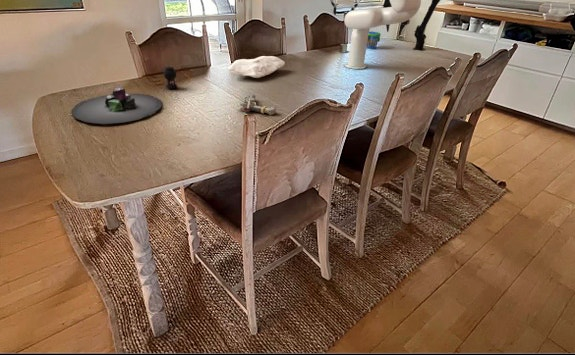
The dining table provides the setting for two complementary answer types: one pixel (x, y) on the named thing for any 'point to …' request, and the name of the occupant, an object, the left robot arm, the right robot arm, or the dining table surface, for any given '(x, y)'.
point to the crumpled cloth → (256, 66)
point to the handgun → (255, 106)
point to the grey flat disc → (116, 108)
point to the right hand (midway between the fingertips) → (393, 33)
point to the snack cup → (373, 39)
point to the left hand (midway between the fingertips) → (343, 15)
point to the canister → (343, 48)
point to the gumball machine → (170, 77)
